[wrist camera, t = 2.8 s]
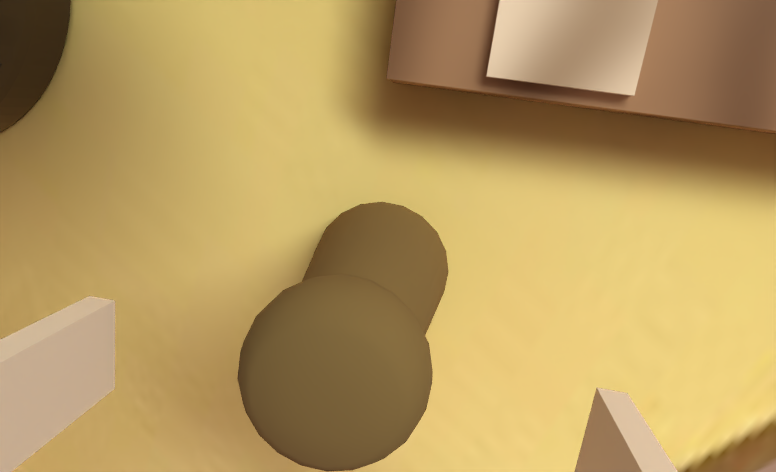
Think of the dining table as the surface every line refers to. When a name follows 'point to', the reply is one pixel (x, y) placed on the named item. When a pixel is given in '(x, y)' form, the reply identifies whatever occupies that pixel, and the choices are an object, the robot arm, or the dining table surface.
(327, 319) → the cork
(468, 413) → the dining table surface
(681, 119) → the caddy
